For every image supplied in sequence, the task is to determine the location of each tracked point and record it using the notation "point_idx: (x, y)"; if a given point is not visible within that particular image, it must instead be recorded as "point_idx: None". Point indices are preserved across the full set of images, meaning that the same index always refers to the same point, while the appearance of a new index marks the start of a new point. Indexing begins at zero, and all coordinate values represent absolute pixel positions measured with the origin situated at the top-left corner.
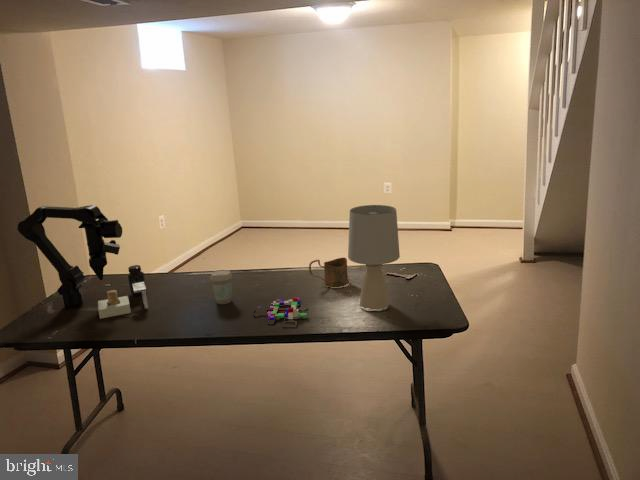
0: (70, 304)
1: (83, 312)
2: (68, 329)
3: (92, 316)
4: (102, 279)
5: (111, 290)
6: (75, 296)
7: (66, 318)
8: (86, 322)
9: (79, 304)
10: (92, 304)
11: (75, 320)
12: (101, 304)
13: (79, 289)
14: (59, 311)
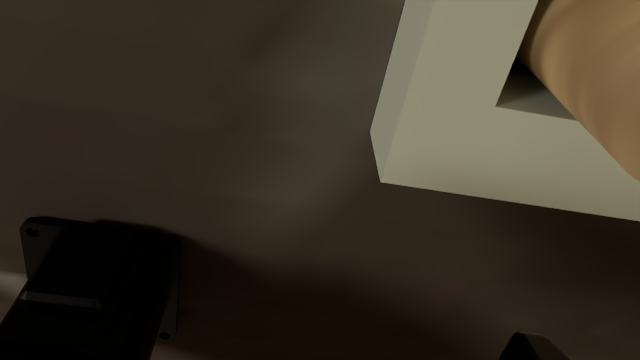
0: (160, 323)
1: (339, 244)
2: (591, 351)
3: (496, 206)
4: (545, 342)
5: (632, 105)
6: (134, 340)
7: (374, 340)
8: (582, 258)
9: (146, 254)
10: (176, 156)
11: (467, 305)
12: (527, 172)
13: (9, 331)
14: (190, 356)
